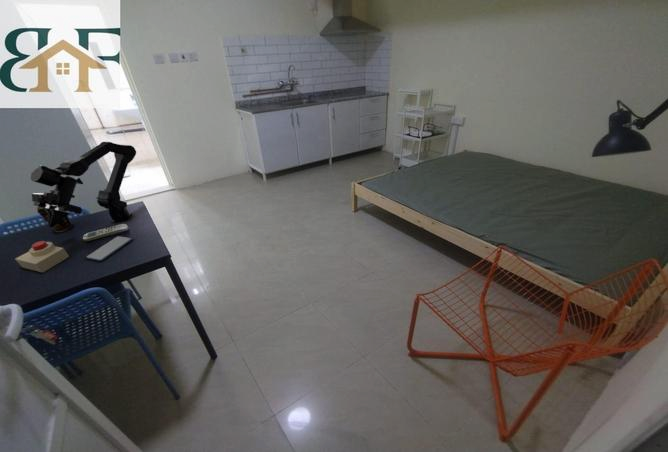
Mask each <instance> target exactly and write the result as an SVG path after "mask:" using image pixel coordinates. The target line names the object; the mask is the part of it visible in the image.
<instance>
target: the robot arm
mask: <svg viewBox="0 0 668 452" xmlns="http://www.w3.org/2000/svg"><path fill="white" fill-rule="evenodd" d="M110 152H111V153H113V155H114V159H115V162H114V164H113V167H112V170H111V173H110V176H109V179H108V181H107V185H106V187H105V189H103V190H100V189H99V190H98V195H97V197H96V199H97V200H96V202H97V204H98V205H99V206H100V207H101V208H105V209H106V210H108V214H109V216H110V218H111V220H112V223H118V222H123V221H124V222H125V221H128V220H129V218H130V217H131V215H132V213H131V212H129V211H128V209H127V207H128V202H127V201H124V200H121V193H120V189H121V187H122V183H123V180H124V177H125V175H126V171H127V168H128V165H129V164H130V163H131V162H132V161H134V159H135V157H136V155H137V150H136V148H135V147H134V146H133V145H130V144H119V143H114V142H111V141H102V142H100V143H99V144H98V145H96V146H95V147H93V148H91V149H90V150H88V151H86V152H85V153H83V154H81V155H79V156H78V157H75V158H74V157H73V158H70V159H67V160H65V161H63V162H61V163H60V164H59V166H57V167H55V168H50V167H48V166H45V165H42V164H41V165H40V164H39V165H38V167H36V168H35V169H34V170H33V171H32V172H31V174H30V180H31V182H34V183H37V184H41V185H44V186H47V187H54V189H51V190H49V191H44V192H37V193H35V192H33V193H31V202H33V206H36V207H44V208H43V209H44V210H45V211H46V212H47V214H48V223H47V224H48V225H47V226H48V228H54V226H55V225H56V224H57V223H58V222H59V221H61V220H62V219H63V218H64V217H66V216H67V217H68V215H71V213H74V214H78V215H81V214H82V212H83V208H82V207H81V206H78V205H73V204H71V200H72V198H73V199H75V197H76V195H74V192H75V189H76V187H77V185H84V182H83V181H82V179H81V176H83V175H84V174H85V173H86V172H87V171H88V170H89V168H90V166H91V165H93V164H94V163H96V162H97V161H99V160H100V159H101V158H103V157H105V156H106V155H108V154H109V153H110ZM72 176H73V177H72Z"/></svg>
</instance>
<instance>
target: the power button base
mask: <svg viewBox="0 0 668 452" xmlns="http://www.w3.org/2000/svg"><path fill="white" fill-rule="evenodd" d="M45 242H46V244H47V245H48V246H47V247H46V248H44V249H41V250H38V251H35V250H34V249H33V248H32V247H31V248H29V250H28V251H27V252H25V253H23V254H21V255H19V256H17V257H16V258H14V260H15V261H16V262H17V263H18V265H19V266H20V267H21V268H23V269H27V270H31V271H35V272H39V273H42V274H44V273H45V272H46V271H49V270H50V269H52V268H53V267H55V266H57V265H58V264H60V263H62V262H63V261H65V260H66V259H68V258H70V254H68V252H67V251H66V250H65V248H64V247H60V246H56V245H55V244H54V243H53V242H51V241H45Z"/></svg>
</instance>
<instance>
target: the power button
mask: <svg viewBox="0 0 668 452" xmlns="http://www.w3.org/2000/svg"><path fill="white" fill-rule="evenodd" d="M46 242H47V241H45V240H40V241H36V242H34V243H33V244H32V245H31V248H33V249H34V250H35V251H38V250H41V249H44V248H46V247H47V246H48V245H47V244H46Z"/></svg>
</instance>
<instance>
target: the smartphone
mask: <svg viewBox="0 0 668 452" xmlns="http://www.w3.org/2000/svg"><path fill="white" fill-rule="evenodd" d="M132 240H133V239H132V238H131V237H125V236H120V235H119V236H115V237H114V238H113V239H111V240H110V241H108V242H107V243H105V244H103V245H102V246H100V247H99V248H97V249H95V250H94V251H92V252H91V253H90V254H88V255H86V259H89V260H94V261H97V262H102V261H104V260H105V259H107V258H108V257H110V256H111V255H113V254H114V253H115V252H117V251H118V250H120V249H121V248H123V247H125V246H126V245H127V244H128V243H130V242H132Z"/></svg>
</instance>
